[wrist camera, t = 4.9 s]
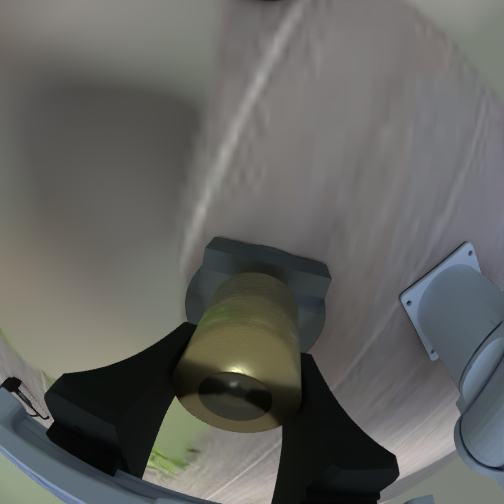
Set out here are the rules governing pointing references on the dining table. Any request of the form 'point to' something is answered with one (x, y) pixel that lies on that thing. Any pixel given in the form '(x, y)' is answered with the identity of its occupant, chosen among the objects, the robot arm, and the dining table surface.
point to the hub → (244, 357)
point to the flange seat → (266, 262)
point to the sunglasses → (18, 392)
